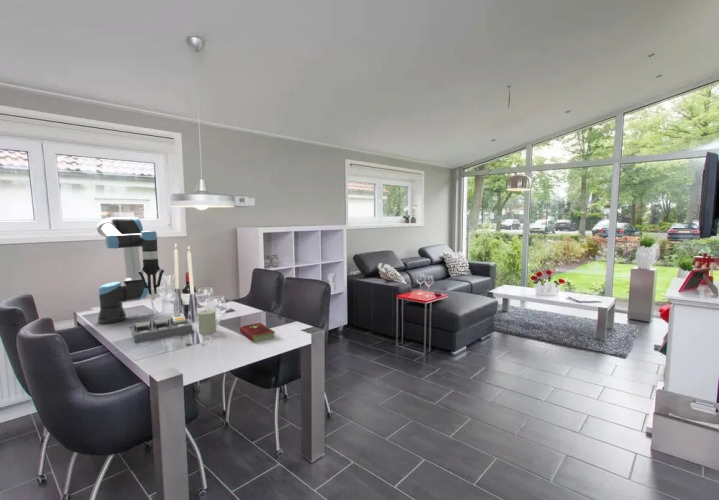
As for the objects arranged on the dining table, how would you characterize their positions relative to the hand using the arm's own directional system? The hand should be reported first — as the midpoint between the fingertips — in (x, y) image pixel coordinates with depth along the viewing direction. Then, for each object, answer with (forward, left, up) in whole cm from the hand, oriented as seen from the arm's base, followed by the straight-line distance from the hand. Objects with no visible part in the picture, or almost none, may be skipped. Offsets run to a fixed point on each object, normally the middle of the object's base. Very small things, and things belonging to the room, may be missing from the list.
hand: (153, 299), depth 210 cm
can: (+21, +24, -18) cm, 37 cm away
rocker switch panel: (+8, +3, -18) cm, 20 cm away
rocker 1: (+6, -6, -12) cm, 15 cm away
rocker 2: (+6, +12, -12) cm, 17 cm away
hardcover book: (+44, +44, -19) cm, 65 cm away
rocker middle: (+6, +3, -12) cm, 13 cm away
